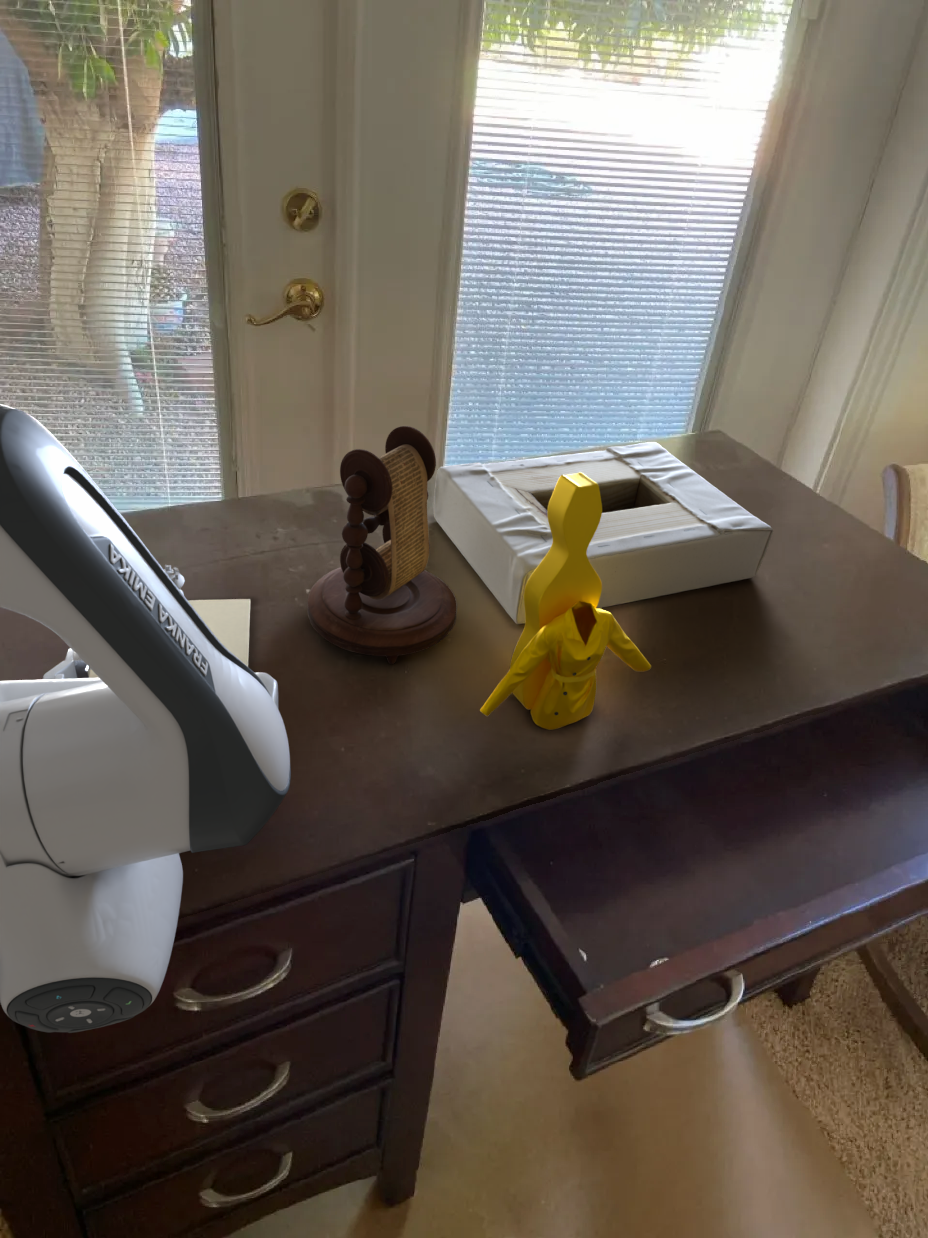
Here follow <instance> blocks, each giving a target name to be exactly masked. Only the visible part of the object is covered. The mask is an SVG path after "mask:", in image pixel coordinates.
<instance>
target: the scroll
mask: <svg viewBox="0 0 928 1238" xmlns="http://www.w3.org/2000/svg"><path fill="white" fill-rule="evenodd" d="M384 446H385V447H384V450H385V451H384V452H385V454H382V455H381V456H379V457H378V456H377V455H375V454H374V453H373V452H371V451H369V450H366V449H363V448H355V449H352V450H350V451H348V452H347V453H346V454H344V456H343V457H342V460H341V462H340V466H339V476H340V481H341V482H340V483H341V485H342V487H343V489H344V492H345V493H346V495H347V496H346V502H347V503H348V504H349V507H348V510H347V511H346V520H347V523H345V524H344V526H343V527H342V530H341V538H342V540H343V541H344V543H345V545H344V546H343V547H342V549H341V551H340V555H339V564H340V567H337V568H335V569H333V570H331V571H329V572H327V573H325V574H324V575H322V576H321V577H320V578H319V579H318V580H317V581H315V583H314V584H313V586H312V587H311V588H310V590H309V592H308V596H307V617H308V620H309V622H310V624H311V626H312V627H313V629H314V630H315V631H316V633H318V634H319V636H321V637H322V638H323V639H325V640H326V641H327V642H329V643H330V644H332V645H335V646H336V647H339V648H341V649H344V650H346V651H348V652H353V653H356V654H360V655H366V656H376V657H386V660H387V663H389V664H390V665H394V664H395V663H396V661H397V659H398V657H399V656H403V655H404V656H405V655H410V654H414V653H418V652H421V651H424V650H426V649H427V650H428V649H429V648H432V647H434V646H435V645H436V644H438V643H440V642H441V641H443V640H444V639H446V637H448V635H449V634H450V633H451V631H452V629H453V628H454V626H455V624H456V620H457V611H458V604H457V599H456V596H455V594H454V593H453V590H452V589H451V588H450V587H449V585H447V584H446V583H445V581H444V580H442V579H441V578H439V577H438V576H437V575H435V574H433V573H431V572H430V571H427V570H426V568H427V565H428V562H429V558H430V557H429V556H430V554H431V553H430V552H431V546H430V545H431V544H430V535H429V521H428V520H429V519H428V499H429V490H428V482H429V481H430V480H431V479H432V478H433V476H434V474H435V472H436V468H437V459H436V457H437V456H436V453H435V449H434V448H433V446H432V443H431V442H430V440H429V439H428V438H427V436H426V435H425V434H424V433H422V431H420V430H418V429H417V428H415V427H413V426H409V425H401V426H397V427H395V428H394V429H392V430H391V431H390V432H389V434H388V435H387V437H386V440H385V445H384ZM364 513H365V514H367V515H369V516H368V517H365V514H364ZM379 526H380V527H381V526H382V539H383V544H381V545H380V546H378V547H377V548H375V547H374V546H372V545H370V544H369V543H367V542H366V541H367V539H368V536H369V534H373V533H375V531H376V530H377V529H378V527H379Z"/></svg>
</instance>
